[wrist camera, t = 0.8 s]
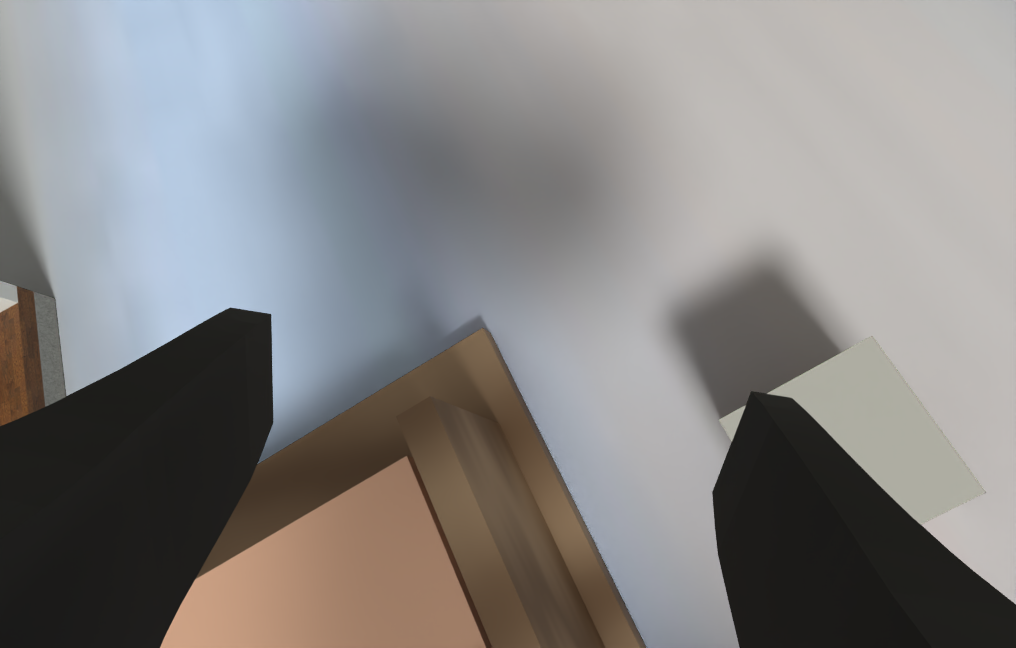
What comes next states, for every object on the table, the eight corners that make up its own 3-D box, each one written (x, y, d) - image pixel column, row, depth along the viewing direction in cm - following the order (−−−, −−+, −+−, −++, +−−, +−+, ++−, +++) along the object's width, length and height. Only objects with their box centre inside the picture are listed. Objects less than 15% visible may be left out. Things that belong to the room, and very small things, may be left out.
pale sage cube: (947, 501, 23) (985, 492, 18) (809, 570, 24) (813, 577, 19) (858, 373, 25) (872, 335, 20) (731, 441, 25) (718, 420, 21)
